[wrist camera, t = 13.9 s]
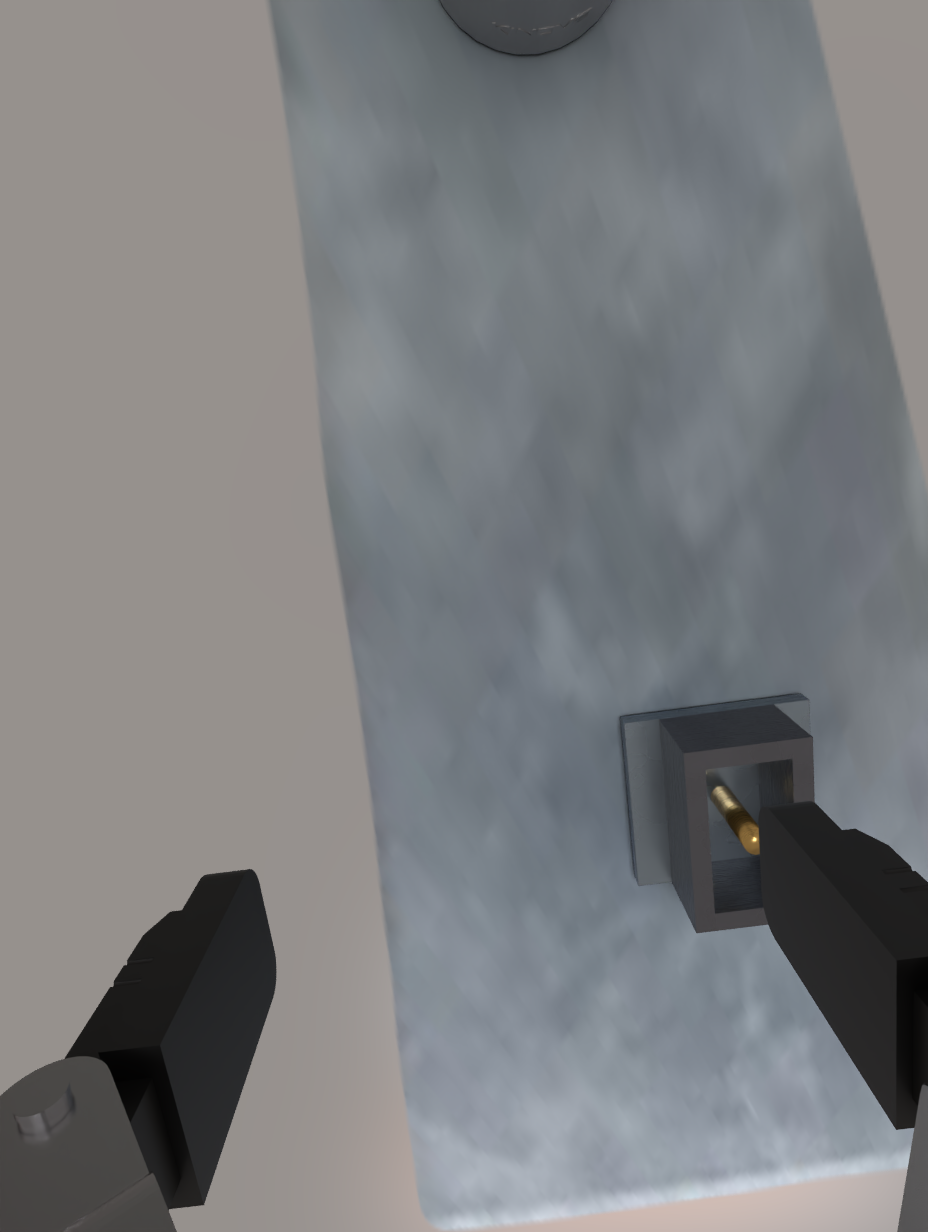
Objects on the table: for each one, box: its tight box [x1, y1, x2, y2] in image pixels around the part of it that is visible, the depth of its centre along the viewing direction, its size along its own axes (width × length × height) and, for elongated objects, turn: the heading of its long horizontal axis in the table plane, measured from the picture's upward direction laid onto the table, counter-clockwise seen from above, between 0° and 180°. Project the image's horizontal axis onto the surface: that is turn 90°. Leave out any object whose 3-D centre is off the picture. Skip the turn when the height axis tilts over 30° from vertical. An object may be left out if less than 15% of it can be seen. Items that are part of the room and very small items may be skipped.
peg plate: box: [620, 694, 810, 886], centre depth 39 cm, size 10×10×6 cm
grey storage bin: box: [659, 704, 815, 933], centre depth 39 cm, size 10×6×4 cm, turn 8°
